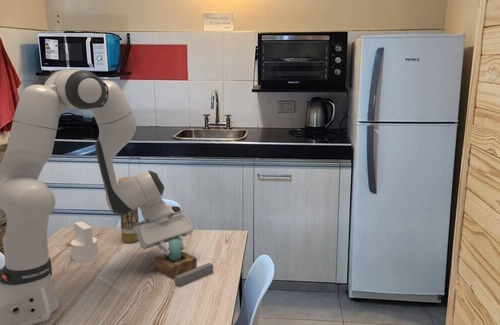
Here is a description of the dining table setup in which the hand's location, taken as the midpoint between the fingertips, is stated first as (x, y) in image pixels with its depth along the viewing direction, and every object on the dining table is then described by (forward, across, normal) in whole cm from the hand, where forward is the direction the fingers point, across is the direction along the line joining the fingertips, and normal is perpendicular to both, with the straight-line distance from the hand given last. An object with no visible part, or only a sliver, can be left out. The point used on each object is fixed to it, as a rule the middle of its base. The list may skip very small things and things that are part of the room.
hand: (176, 251), depth 155 cm
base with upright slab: (-19, -15, +30) cm, 39 cm away
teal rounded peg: (+3, 0, +4) cm, 4 cm away
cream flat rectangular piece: (+6, 0, +5) cm, 8 cm away
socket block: (+4, 0, +5) cm, 6 cm away
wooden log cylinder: (-20, +5, +31) cm, 38 cm away
